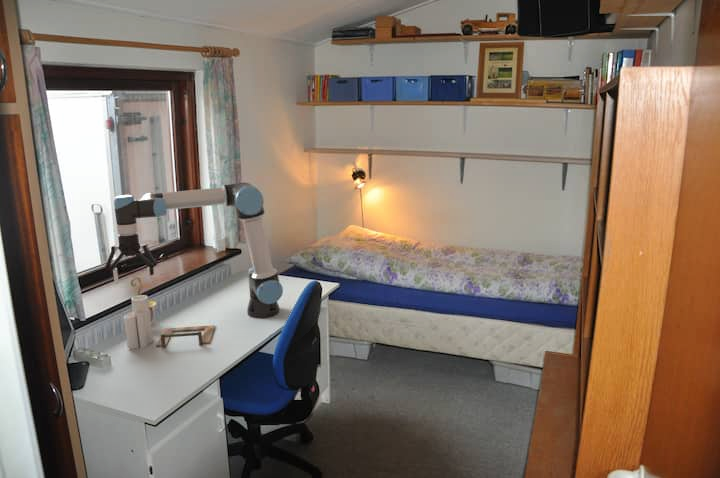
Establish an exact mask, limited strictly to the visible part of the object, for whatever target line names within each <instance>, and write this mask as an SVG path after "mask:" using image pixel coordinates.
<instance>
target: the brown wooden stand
mask: <svg viewBox="0 0 720 478" xmlns="http://www.w3.org/2000/svg"><path fill="white" fill-rule="evenodd" d="M215 330H216V325H199V326H183V327H182V326H181V327H168V328H164V329H163V332H162V333H161V334H160V337H159V339H158V340H157V342H156V344H155V347H156V348H161V349H166V347H167V346H168V343H169V341H170V339H171V338H176V337H177V338H178V337H191V336H195V337H196V336H198V346H199V347H201V346H202V347H203V345H210V343H211V341H212V337H213V335H214V331H215ZM202 331H203V333H202ZM181 332H182V333H181Z"/></svg>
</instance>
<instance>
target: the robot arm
mask: <svg viewBox="0 0 720 478" xmlns="http://www.w3.org/2000/svg"><path fill="white" fill-rule="evenodd" d="M134 197H135V196H133V195H132V194H131V195H130V194H124V195H121V194H120V195H117V196H115V197H114V198H113V202H114V203H113V206H114V215H115V222H116V230H117V234H118V235H117V237H118V245H116V244H113V245H112V246H111V247H110V250H111V251H110V254H109V256H108V259H107V261H106V264H105V266H104V267H105V269H109V271H110V275H111V276H110V277H111V278H113V279H114V280H113V281H114V286H117V285H119V283H120V281H119V272H118V267H116V266H117V265H118V264H119V262H120V261H121V260H122V259H123V257H124V256H125V257H134V256H136V257H137V258H139V260H141V262H143V263H144V264H145V266H147V268H146V269H147V270H146V271H147V277H148V279H147V280H148V284H152V283H153V275H154V274H155V271H154V270H155V269H154V268H155V267H156V266H157V265H159V263H158V261H157V260H156V258H155V257H154V255H153V254H152V252H151V251H150V249H149V247H148V244H147V243H144V244H140V242H139V241H140V240H139V233H138V223H137V219H145V218H146V219H147V218H159V217H165V216H166V215H167V211H170V210H179V209H190V208H191V209H192V208H200V207H209V206H218V205H219V206H220V205H223V206H225V207H235V211H236V216H237V219H238V220H239V221H240V222H242V225H243V229H244V235H245V238H246V243H247V247H248V251H249V252H248V253H249V256H250V261H251V265H252V266H251V267H249V268H248V273H247V275H248V284H249V285H248V286H249V301H248V304H247V307H246V308H247V309H246V310H247V315H248V316H249V317H252V318H255V319H256V318H257V319H264V318H265V319H266V318H270V317H273V316H275V315H278V313H280V306H279V303H278V301H279V300H280V299H281V298H282V296H283V294H284V289H283V285H282V284H281V282H280V279H279V274H278V270H277V268H274V266H273V263H272V262H273V261H272V258H271V253H270V248H269V244H268V239H267V235H266V230H265V225H264V221H263V220H264V219H263V217H264V215H265V210H264V209H265V208H264V201H265V200H264V196H263V193H262V192H261V191H260V190H259V188H257V187H256V186H254V185H253V184H251V183H248V182H237V183H231V184H230V183H229V184H223V185H221V186H220V187H211V188H202V189H201V188H200V189H191V190H189V189H188V190H181V191H180V190H179V191H168V192H157V193H154V192H147V193H144V194H143V196H142V197H141V198H140V199H135V198H134ZM140 249H141V250H142V251H143V252H144V254H145V255H146V256H147V257H146V256H145V255H144V254H143V253H142V252H141V251H140ZM118 250H119V251H120V254H119V255H118V256H117V258H116V259H115V260H114V257H115V255H116V252H117V251H118ZM113 260H114V262H113ZM112 262H113V264H112Z"/></svg>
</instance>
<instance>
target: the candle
mask: <svg viewBox="0 0 720 478" xmlns="http://www.w3.org/2000/svg"><path fill="white" fill-rule="evenodd" d="M148 301H149V296H148V295H146V294H145V295H144V294H139V296H136V295H135V296H133V297H131V306H132V313H133V314H128V313H126V314H125V315H124V316H123V322H124V331H125V336H126V337H125V338H126V345H127V349H128V348H129V350H133V348H135V349H137V348H139V347H140V348H146V347H147V346H148V345H149V344H152V343H153V342H154V337H153V327H152V321H151V311H150V309H149V302H148Z"/></svg>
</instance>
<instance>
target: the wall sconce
mask: <svg viewBox="0 0 720 478" xmlns="http://www.w3.org/2000/svg"><path fill="white" fill-rule="evenodd" d="M135 280H138V284H139V286H138V290H137V293H136V295H135V296H139V295H141V294H140V293H141V290H142V285H143V283H142V280H141V278H139V277H137V276H135V277H133V278H132V279H131V281H130V286H131V287H133V288H134V287H136V285H137V283H134V281H135ZM148 302H149V310H150V318H151V322H152V321H153V318H154V312H153V311H154V310H153V309H152V308H153V307H155V306H156V305H157V301H156V302H155V301H154V300H153V301H152V300H148ZM127 314H133V312H128V313H127Z"/></svg>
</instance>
